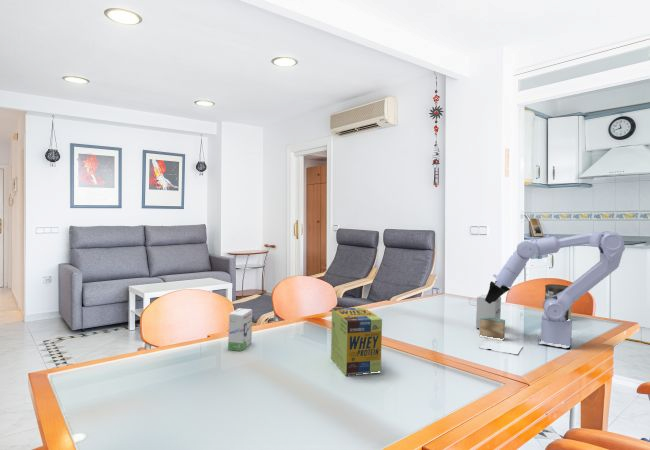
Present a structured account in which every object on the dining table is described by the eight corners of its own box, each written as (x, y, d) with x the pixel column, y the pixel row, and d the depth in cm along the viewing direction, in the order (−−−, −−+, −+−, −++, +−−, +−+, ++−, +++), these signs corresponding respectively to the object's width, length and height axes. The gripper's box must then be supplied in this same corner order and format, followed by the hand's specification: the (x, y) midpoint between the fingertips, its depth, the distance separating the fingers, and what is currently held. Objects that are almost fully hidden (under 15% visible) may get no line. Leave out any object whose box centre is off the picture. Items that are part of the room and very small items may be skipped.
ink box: (237, 342, 148) (238, 307, 147) (252, 343, 147) (252, 308, 146) (227, 350, 139) (227, 313, 139) (242, 351, 138) (242, 314, 138)
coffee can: (560, 323, 180) (561, 289, 179) (538, 317, 189) (539, 285, 189) (576, 320, 184) (578, 287, 184) (554, 315, 194) (556, 283, 193)
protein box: (346, 377, 119) (347, 320, 118) (330, 358, 134) (331, 307, 133) (381, 373, 122) (383, 318, 121) (362, 355, 136) (363, 306, 136)
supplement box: (495, 332, 165) (496, 299, 164) (475, 329, 169) (476, 296, 168) (500, 328, 170) (501, 296, 170) (481, 325, 175) (482, 293, 174)
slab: (504, 339, 157) (505, 319, 156) (502, 341, 154) (503, 321, 154) (481, 335, 161) (482, 316, 161) (479, 337, 158) (480, 318, 158)
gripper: (504, 263, 164) (484, 293, 167) (497, 264, 152) (475, 296, 155) (521, 274, 161) (500, 304, 164) (515, 276, 148) (493, 308, 151)
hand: (489, 301), depth 159 cm, fingers open, 7 cm apart
